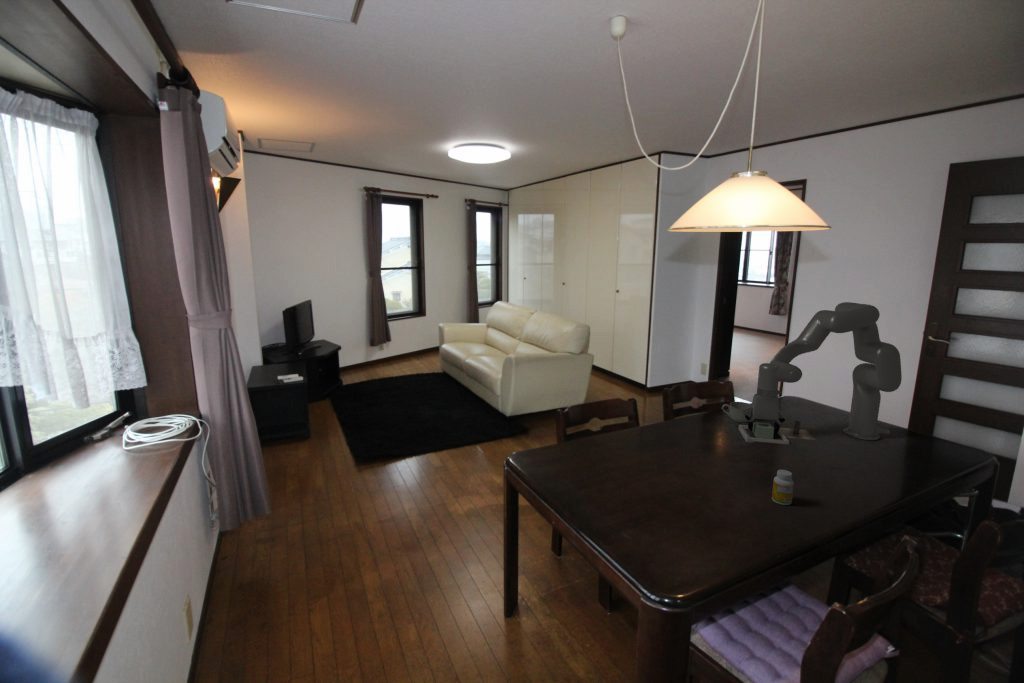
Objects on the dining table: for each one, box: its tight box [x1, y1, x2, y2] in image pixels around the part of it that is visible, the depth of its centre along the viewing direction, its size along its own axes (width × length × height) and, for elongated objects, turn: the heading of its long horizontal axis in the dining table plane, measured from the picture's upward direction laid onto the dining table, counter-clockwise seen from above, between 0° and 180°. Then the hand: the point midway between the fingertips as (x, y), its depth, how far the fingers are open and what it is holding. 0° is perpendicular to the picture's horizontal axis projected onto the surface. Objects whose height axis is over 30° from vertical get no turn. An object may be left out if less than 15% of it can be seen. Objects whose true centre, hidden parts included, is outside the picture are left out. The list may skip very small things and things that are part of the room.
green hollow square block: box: [752, 421, 775, 439], centre depth 193 cm, size 6×6×5 cm
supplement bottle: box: [771, 469, 795, 506], centre depth 141 cm, size 5×5×10 cm
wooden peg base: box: [779, 420, 817, 441], centre depth 195 cm, size 12×12×6 cm
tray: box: [738, 424, 790, 445], centre depth 193 cm, size 16×16×2 cm
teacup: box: [721, 401, 752, 424], centre depth 213 cm, size 14×11×8 cm
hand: (763, 431), depth 193 cm, fingers open, 9 cm apart
